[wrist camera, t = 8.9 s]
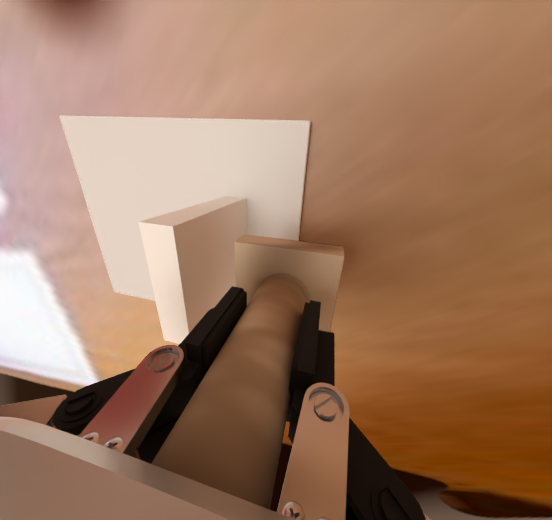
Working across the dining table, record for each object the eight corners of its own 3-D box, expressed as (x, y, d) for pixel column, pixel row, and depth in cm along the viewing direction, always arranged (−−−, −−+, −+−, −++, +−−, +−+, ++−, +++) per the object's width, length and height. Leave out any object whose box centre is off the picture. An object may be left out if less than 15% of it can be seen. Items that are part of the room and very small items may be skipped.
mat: (310, 122, 17) (309, 120, 16) (290, 324, 25) (288, 329, 24) (68, 117, 21) (59, 115, 21) (119, 288, 30) (113, 291, 29)
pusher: (343, 246, 12) (373, 506, 3) (327, 328, 15) (317, 608, 5) (244, 234, 13) (42, 391, 4) (245, 311, 16) (121, 519, 7)
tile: (246, 198, 19) (172, 226, 11) (246, 275, 23) (190, 346, 14) (222, 195, 20) (133, 221, 11) (226, 272, 23) (160, 339, 14)
